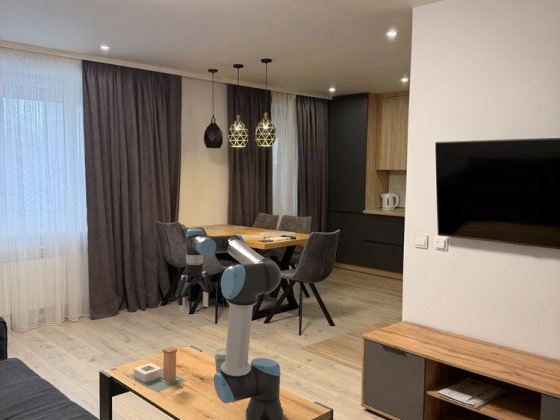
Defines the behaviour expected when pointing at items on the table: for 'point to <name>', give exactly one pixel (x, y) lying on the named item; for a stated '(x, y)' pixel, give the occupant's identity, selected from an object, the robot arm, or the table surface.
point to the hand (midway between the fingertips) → (193, 309)
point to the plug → (169, 364)
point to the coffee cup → (219, 358)
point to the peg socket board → (153, 377)
